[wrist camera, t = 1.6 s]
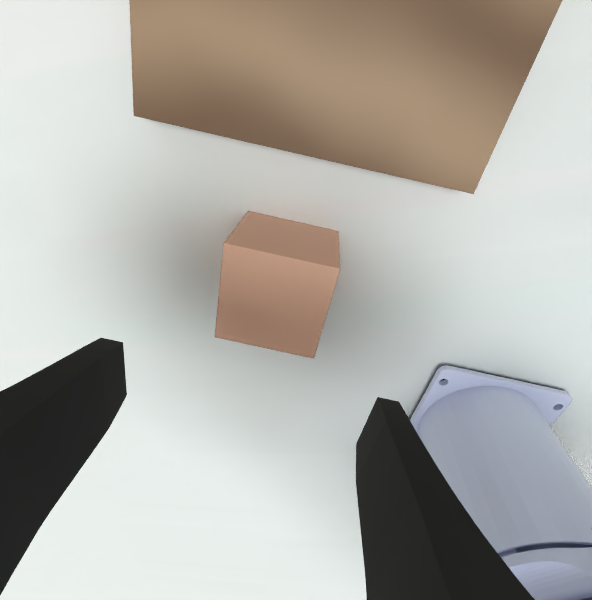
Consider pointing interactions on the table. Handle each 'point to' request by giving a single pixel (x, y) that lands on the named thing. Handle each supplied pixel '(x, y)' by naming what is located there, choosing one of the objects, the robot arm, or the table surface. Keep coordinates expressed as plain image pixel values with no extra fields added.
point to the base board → (343, 76)
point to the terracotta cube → (277, 283)
